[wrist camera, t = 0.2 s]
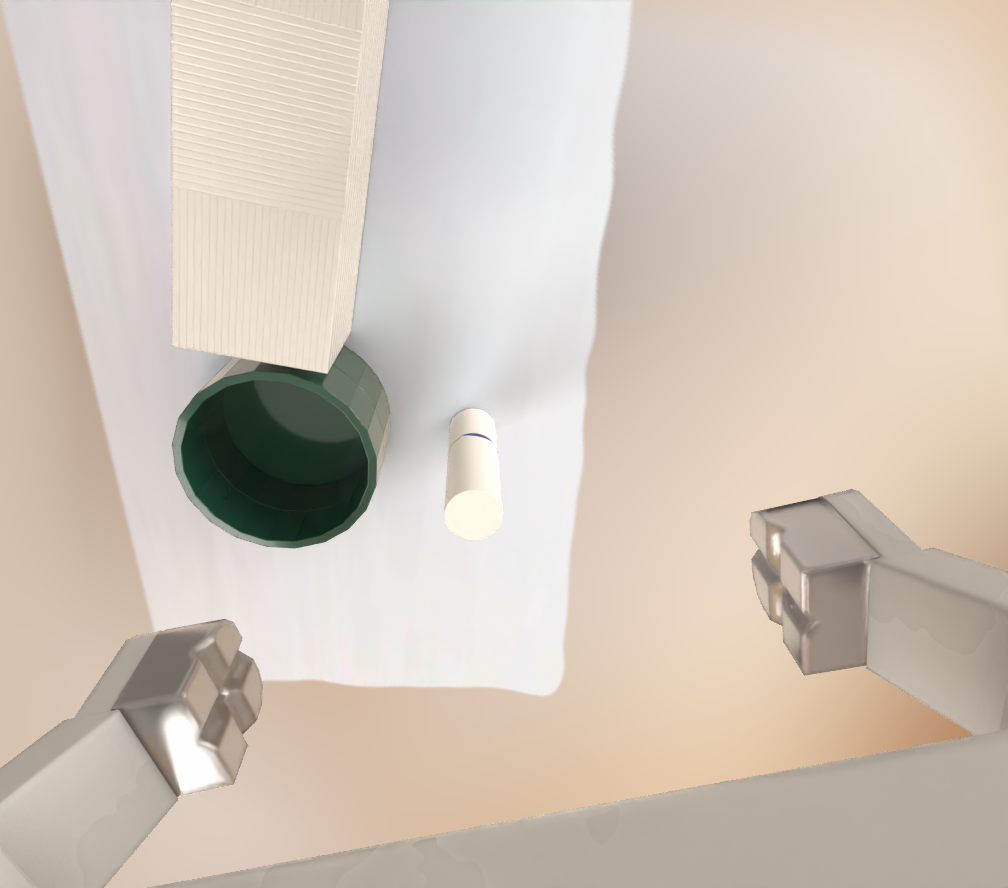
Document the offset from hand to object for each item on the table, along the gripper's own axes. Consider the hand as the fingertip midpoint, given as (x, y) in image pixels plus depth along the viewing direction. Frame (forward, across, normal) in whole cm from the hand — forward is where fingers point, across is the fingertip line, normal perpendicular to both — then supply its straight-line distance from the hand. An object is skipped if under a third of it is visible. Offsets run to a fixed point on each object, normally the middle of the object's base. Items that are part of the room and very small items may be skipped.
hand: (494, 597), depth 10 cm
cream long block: (+48, +11, -10) cm, 50 cm away
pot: (+48, +19, +14) cm, 53 cm away
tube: (+48, +4, +19) cm, 52 cm away
